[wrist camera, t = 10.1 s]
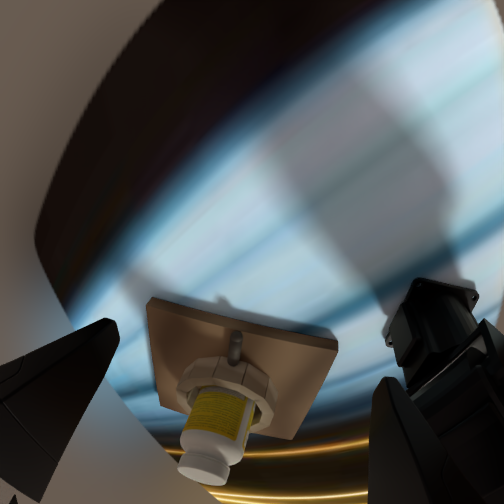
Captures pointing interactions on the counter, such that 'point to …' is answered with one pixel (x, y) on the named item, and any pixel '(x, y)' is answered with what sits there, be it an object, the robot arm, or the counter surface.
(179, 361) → the dock
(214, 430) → the supplement bottle
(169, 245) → the counter surface
